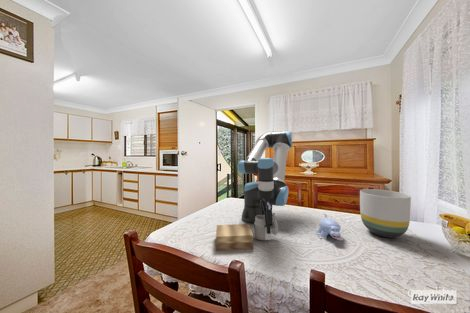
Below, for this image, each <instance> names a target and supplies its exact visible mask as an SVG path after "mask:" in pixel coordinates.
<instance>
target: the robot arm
mask: <svg viewBox="0 0 470 313" xmlns="http://www.w3.org/2000/svg"><path fill="white" fill-rule="evenodd" d="M291 132H292V131H290V130H288V131H287V130H283V131H268V132H265V133H263V134H261V135H260V136H258V138H257V139H256V141H255V142H254V143H255V144H254V146H253V147H252V149H251V150H250V152H249V154H248V155H247V157H246V158H245V160H244V159H243V160H239V161H238V162H237V171H238V173H240V174H244V175H248V174H249V175H257V181H251V182H247V183H245V185H244V188H243V191H244V192H243V194H244V195H243V196H244V199H243V200H244V201H243V203H244V204H243V208H242V212H241V220H242V221H243V222H244V223H247V224H254V222H255V217H256V216H257V215H265V223H266V225H264V227H265V240H264V241H271V240H272V233H271V229H272V228H274V223H273V220H272V215H273V206H276V207H284V206H285V205H286V204H287V202H288V199H289V198H288V197H289V192H290V191H289V190H290V189H289V186H287V182H285V179H286V167H287V157H288V152H289V151H290V149H291V148H293V138H292V133H291ZM270 148H271V149H273V157H262V156H263V154H264V152H265V151H266V150H268V149H270Z"/></svg>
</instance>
